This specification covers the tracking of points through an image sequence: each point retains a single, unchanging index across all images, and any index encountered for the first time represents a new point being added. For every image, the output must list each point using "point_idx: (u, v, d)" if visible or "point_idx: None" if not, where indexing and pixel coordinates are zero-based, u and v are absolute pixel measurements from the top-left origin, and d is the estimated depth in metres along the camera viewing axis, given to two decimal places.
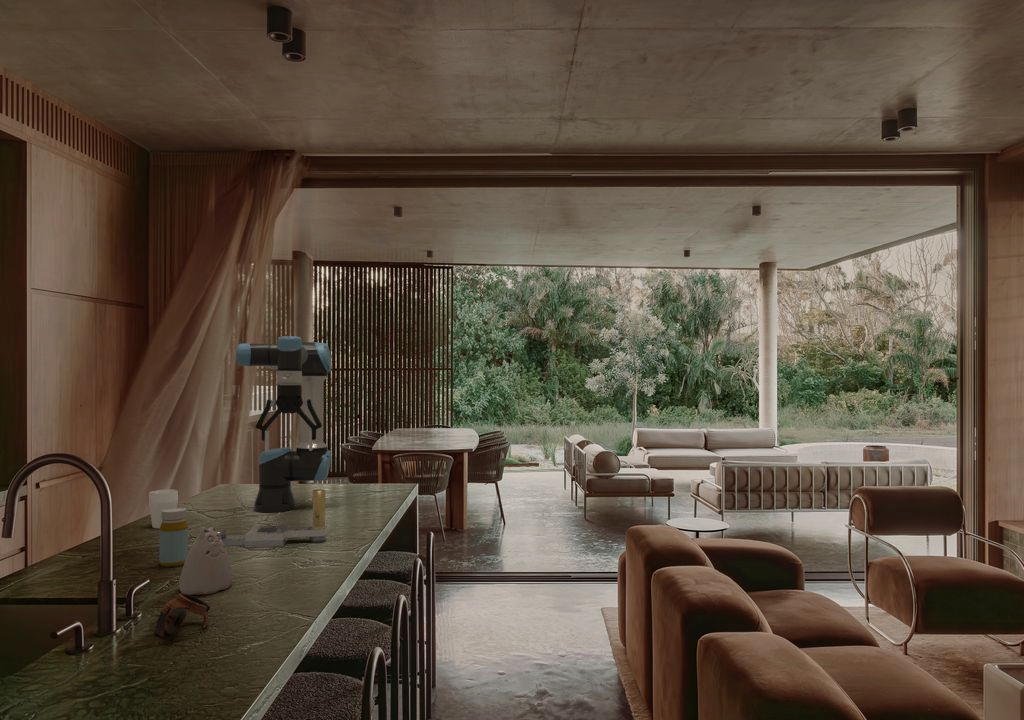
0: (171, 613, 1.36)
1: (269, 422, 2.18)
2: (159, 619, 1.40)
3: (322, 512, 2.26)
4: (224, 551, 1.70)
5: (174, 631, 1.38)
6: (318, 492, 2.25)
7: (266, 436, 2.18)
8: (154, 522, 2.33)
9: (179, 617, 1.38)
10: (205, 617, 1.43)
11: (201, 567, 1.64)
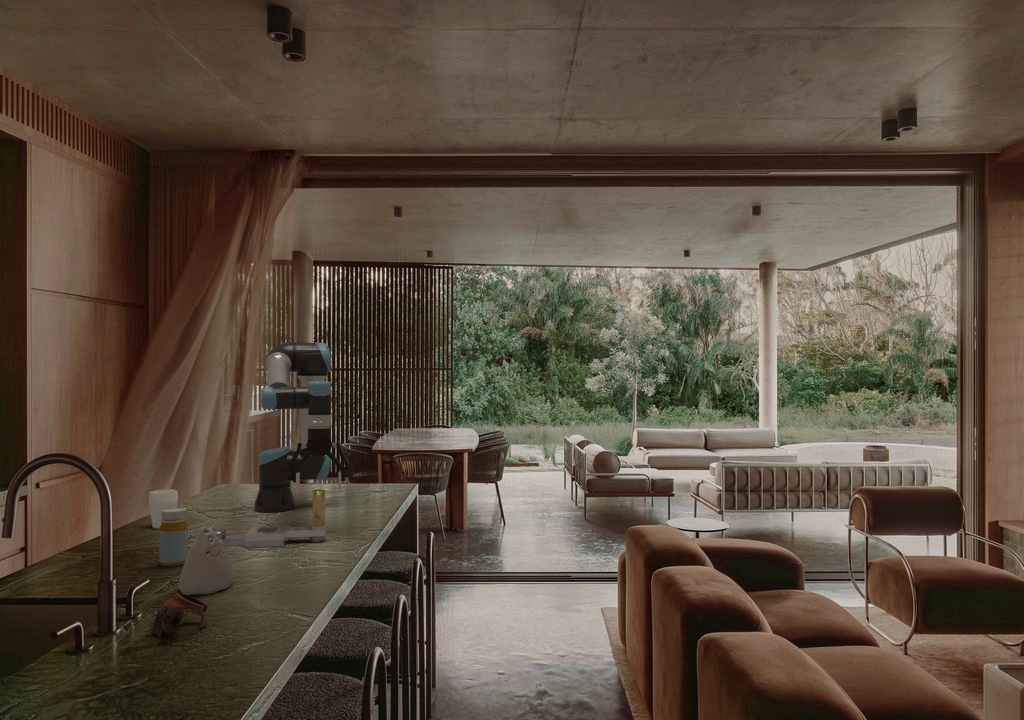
0: (169, 613, 1.36)
1: (300, 465, 2.25)
2: (156, 619, 1.40)
3: (322, 512, 2.26)
4: (224, 551, 1.70)
5: (171, 631, 1.38)
6: (318, 492, 2.25)
7: (297, 478, 2.25)
8: (154, 522, 2.33)
9: (176, 617, 1.38)
10: (202, 617, 1.43)
11: (201, 567, 1.64)
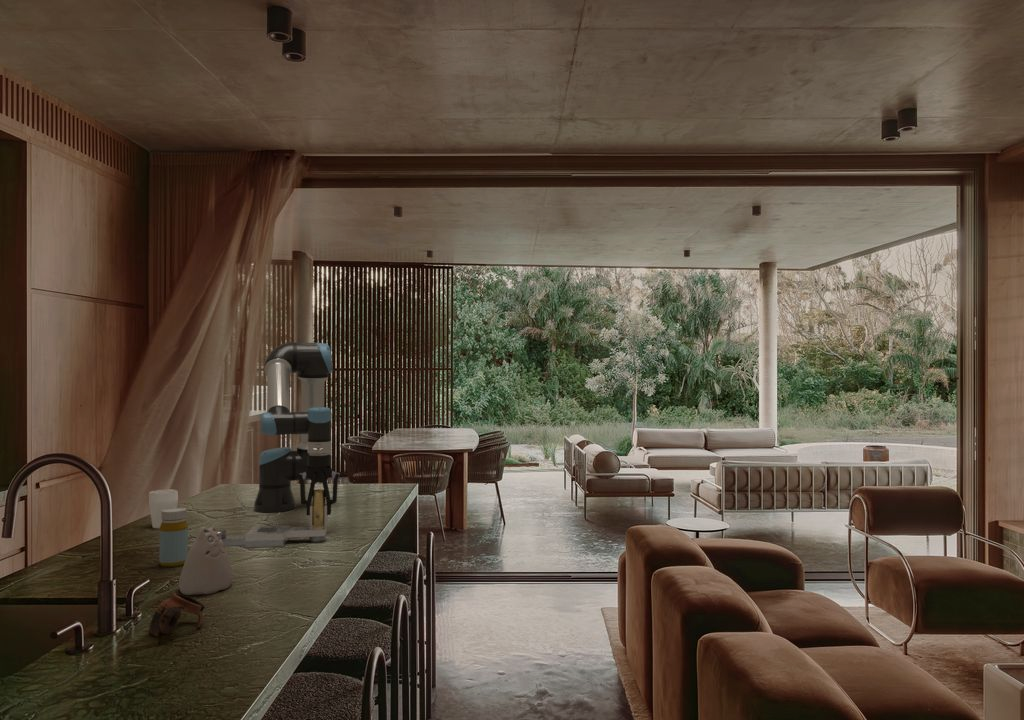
0: (166, 613, 1.36)
1: (310, 496, 2.26)
2: (153, 619, 1.40)
3: (322, 512, 2.26)
4: (224, 551, 1.70)
5: (168, 630, 1.38)
6: (318, 492, 2.25)
7: (311, 511, 2.25)
8: (154, 522, 2.33)
9: (174, 616, 1.38)
10: (200, 616, 1.43)
11: (201, 567, 1.64)
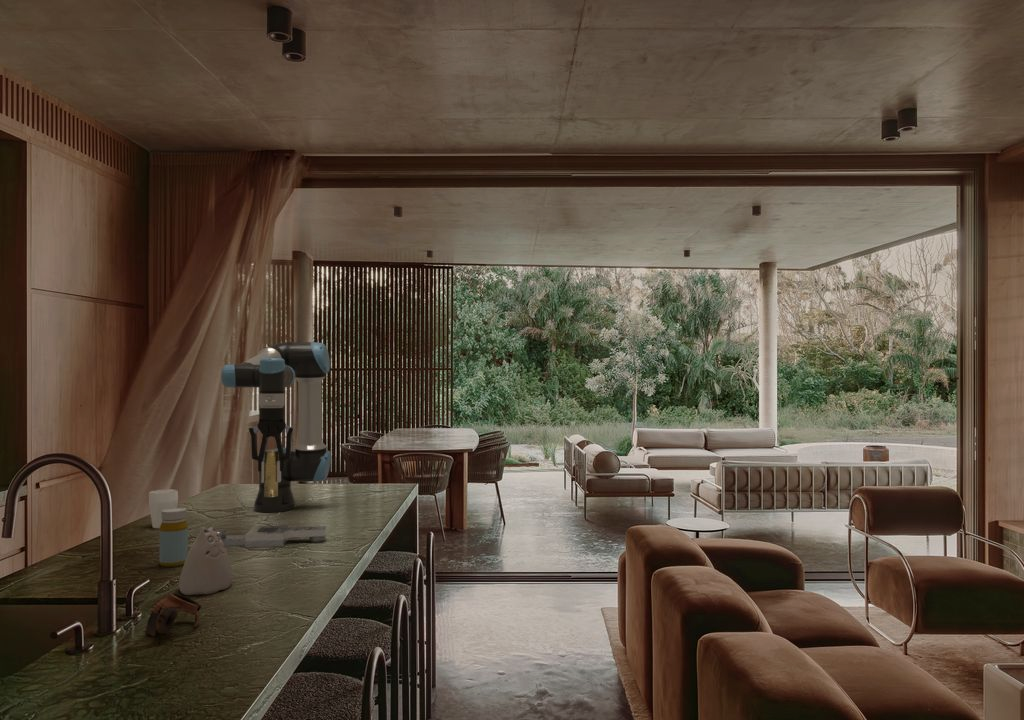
0: (163, 612, 1.37)
1: (262, 451, 2.13)
2: (150, 619, 1.40)
3: (274, 474, 2.14)
4: (224, 551, 1.70)
5: (165, 630, 1.38)
6: (270, 453, 2.13)
7: (263, 467, 2.13)
8: (154, 522, 2.33)
9: (171, 616, 1.38)
10: (196, 616, 1.43)
11: (201, 568, 1.64)
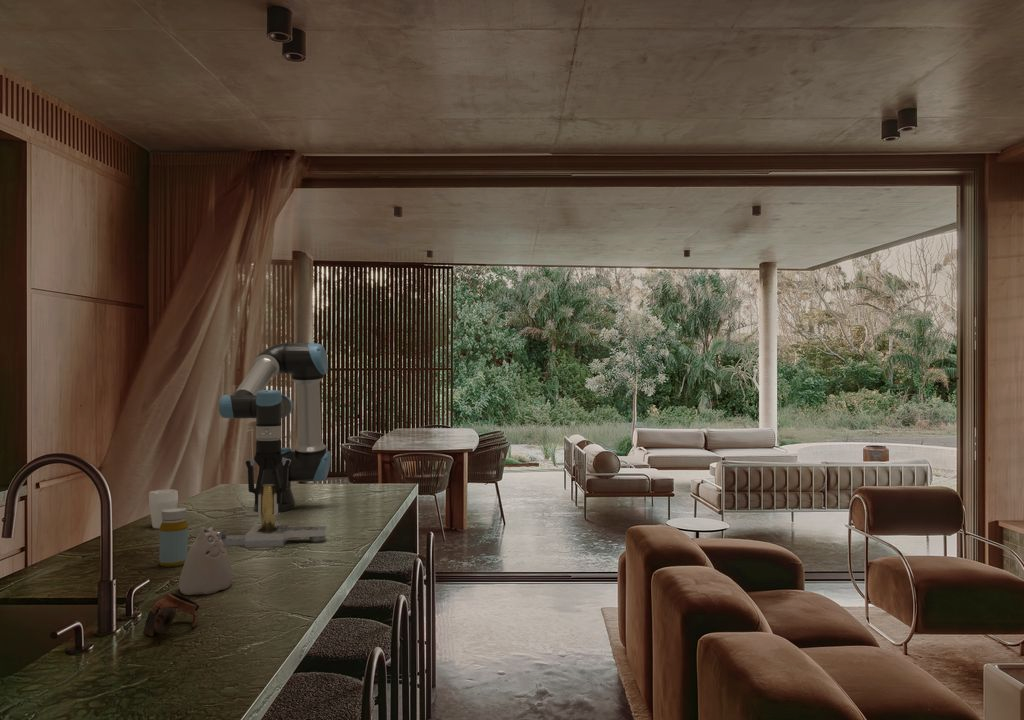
0: (161, 612, 1.37)
1: (258, 483, 2.13)
2: (148, 618, 1.40)
3: (271, 508, 2.13)
4: (224, 551, 1.70)
5: (163, 630, 1.38)
6: (267, 487, 2.12)
7: (259, 500, 2.13)
8: (154, 522, 2.33)
9: (169, 616, 1.39)
10: (194, 616, 1.43)
11: (201, 568, 1.64)
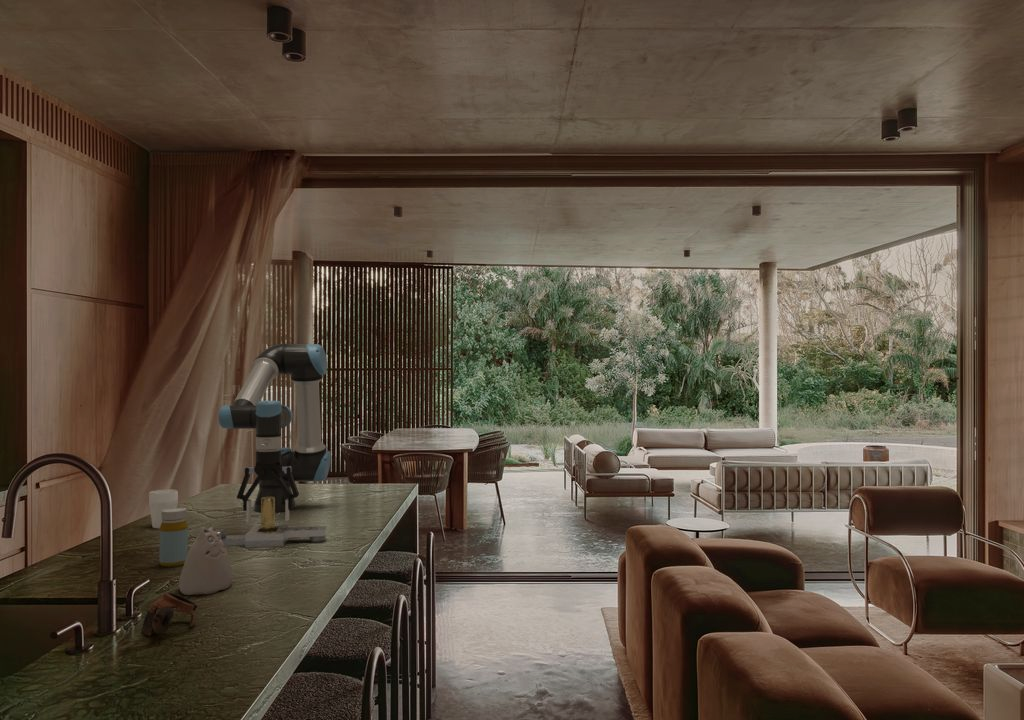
0: (159, 612, 1.37)
1: (250, 491, 2.12)
2: (146, 618, 1.41)
3: (271, 521, 2.13)
4: (224, 551, 1.70)
5: (161, 630, 1.38)
6: (267, 499, 2.12)
7: (248, 506, 2.12)
8: (154, 522, 2.33)
9: (167, 616, 1.39)
10: (192, 616, 1.43)
11: (201, 568, 1.64)
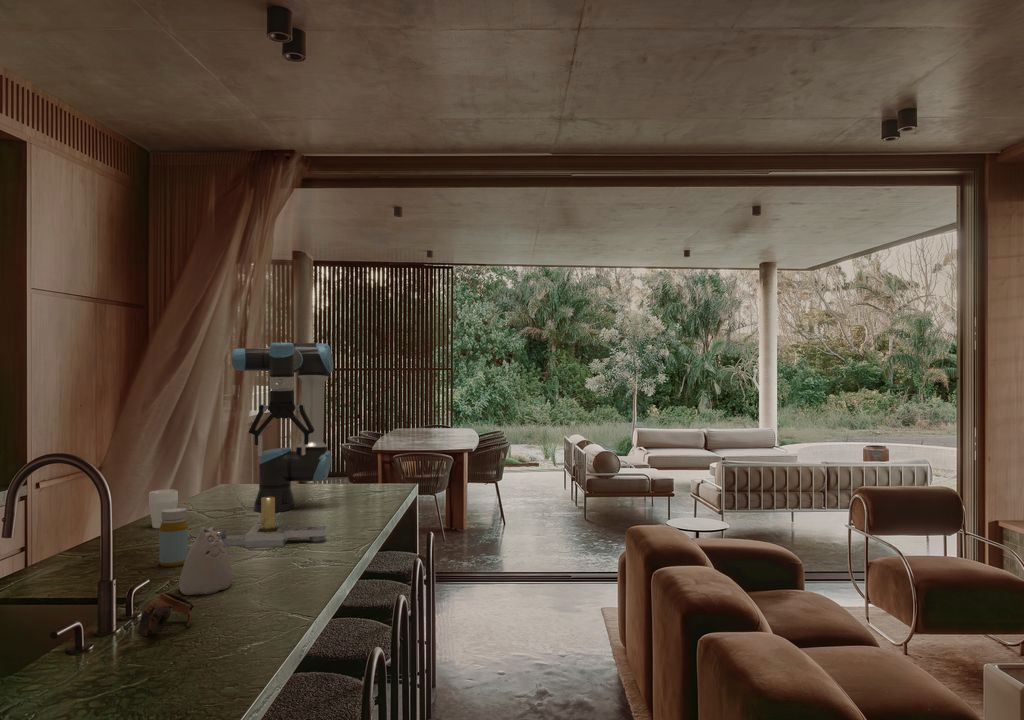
0: (156, 612, 1.37)
1: (262, 427, 2.21)
2: (142, 618, 1.41)
3: (271, 521, 2.13)
4: (224, 551, 1.70)
5: (158, 630, 1.38)
6: (267, 499, 2.12)
7: (259, 441, 2.21)
8: (154, 522, 2.33)
9: (163, 616, 1.39)
10: (189, 616, 1.44)
11: (201, 567, 1.64)
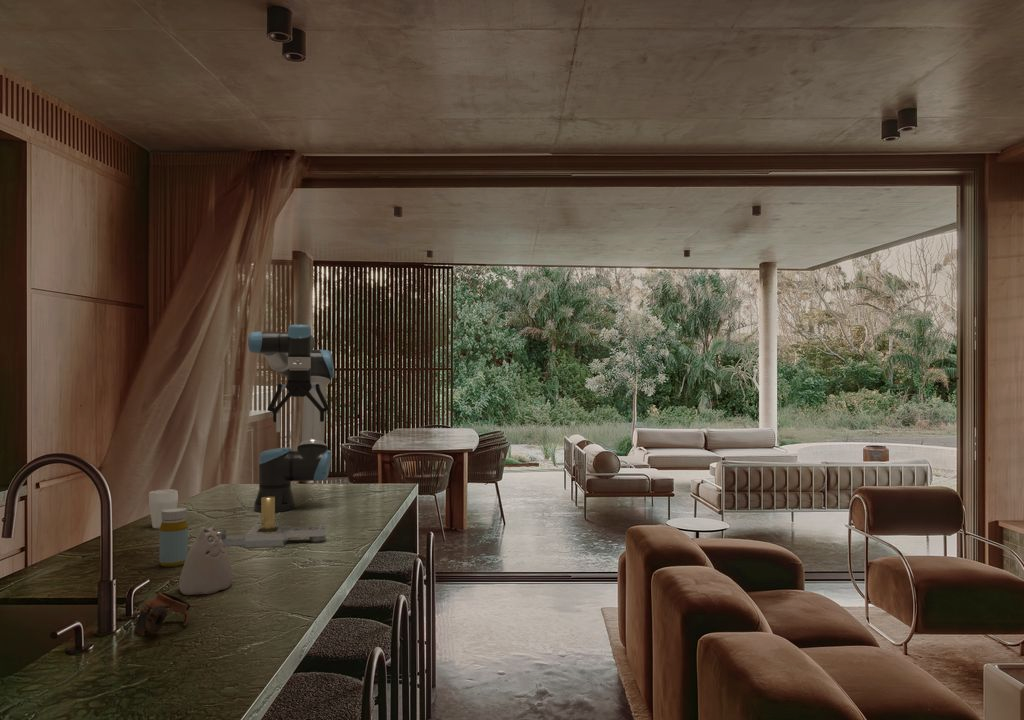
0: (153, 612, 1.37)
1: (280, 405, 2.33)
2: (139, 618, 1.41)
3: (271, 521, 2.13)
4: (224, 551, 1.70)
5: (155, 629, 1.38)
6: (267, 499, 2.12)
7: (277, 418, 2.33)
8: (154, 522, 2.33)
9: (160, 615, 1.39)
10: (186, 615, 1.44)
11: (201, 567, 1.64)
